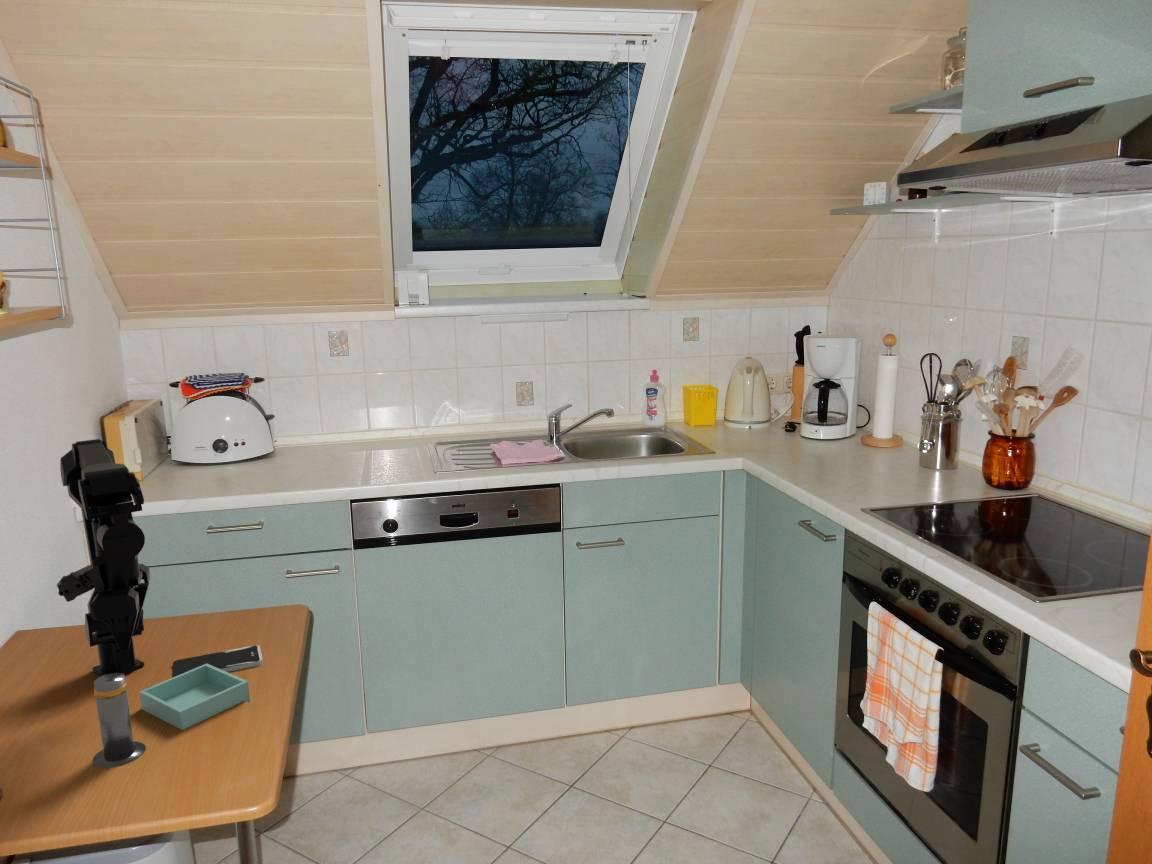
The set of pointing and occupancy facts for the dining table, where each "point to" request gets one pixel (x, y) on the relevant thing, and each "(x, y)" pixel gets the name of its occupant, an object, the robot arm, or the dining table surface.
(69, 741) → the dining table surface
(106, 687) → the strut
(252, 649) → the smartphone
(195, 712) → the bin
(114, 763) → the dark metal disc
